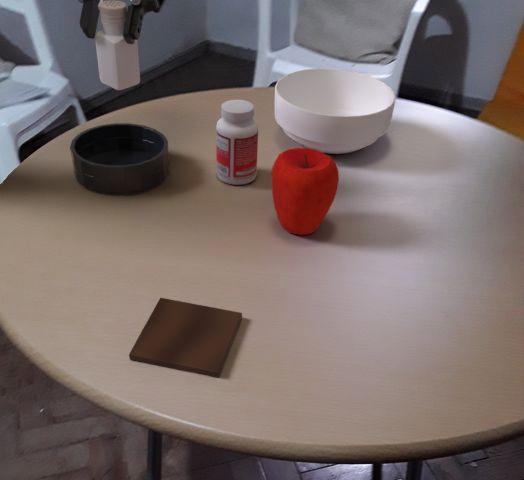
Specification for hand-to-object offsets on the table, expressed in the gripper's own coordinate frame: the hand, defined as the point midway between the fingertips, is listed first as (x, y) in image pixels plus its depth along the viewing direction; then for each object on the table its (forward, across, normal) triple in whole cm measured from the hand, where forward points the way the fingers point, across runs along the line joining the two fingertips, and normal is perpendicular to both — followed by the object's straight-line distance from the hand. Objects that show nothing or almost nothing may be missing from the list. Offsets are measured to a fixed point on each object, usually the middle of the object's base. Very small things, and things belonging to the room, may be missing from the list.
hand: (108, 37), depth 76 cm
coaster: (+34, +18, -3) cm, 38 cm away
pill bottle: (+8, +14, +23) cm, 28 cm away
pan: (+11, -3, +20) cm, 23 cm away
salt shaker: (+3, 0, +6) cm, 7 cm away
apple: (+16, +26, +15) cm, 34 cm away
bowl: (-4, +26, +35) cm, 44 cm away
